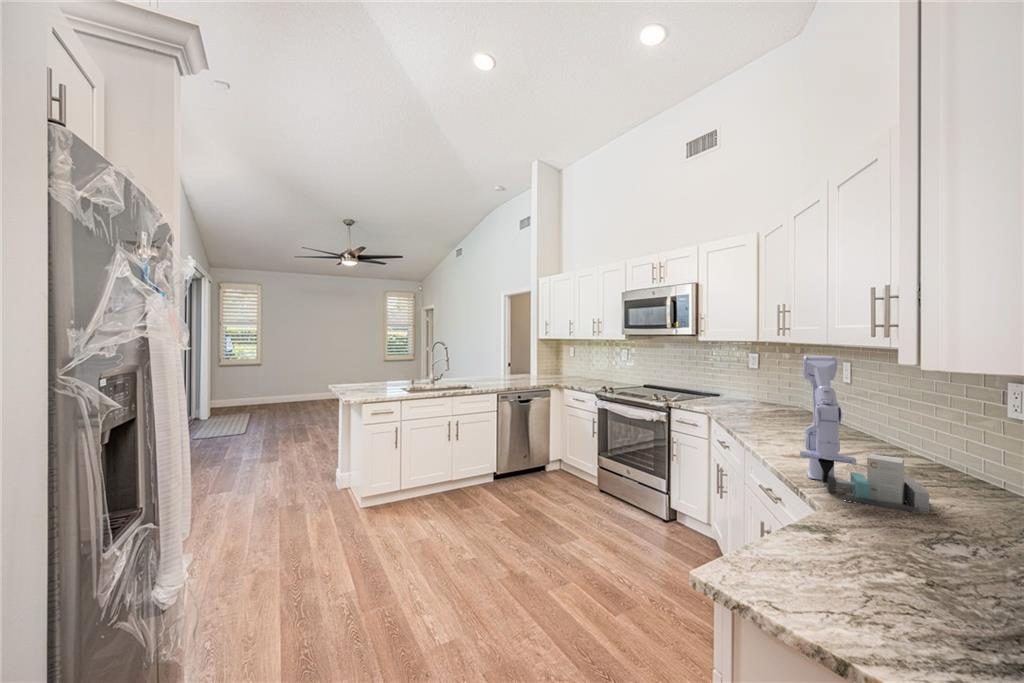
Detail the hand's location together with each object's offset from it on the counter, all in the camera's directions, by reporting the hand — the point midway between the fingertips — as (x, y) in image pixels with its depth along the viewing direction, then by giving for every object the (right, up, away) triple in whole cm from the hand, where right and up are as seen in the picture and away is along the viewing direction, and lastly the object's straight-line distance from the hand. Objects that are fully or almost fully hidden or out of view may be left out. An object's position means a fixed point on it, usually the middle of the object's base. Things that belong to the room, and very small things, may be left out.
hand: (826, 482), depth 134 cm
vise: (+12, -3, -7) cm, 14 cm away
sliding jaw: (+4, -3, -3) cm, 6 cm away
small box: (+13, -3, -7) cm, 15 cm away
